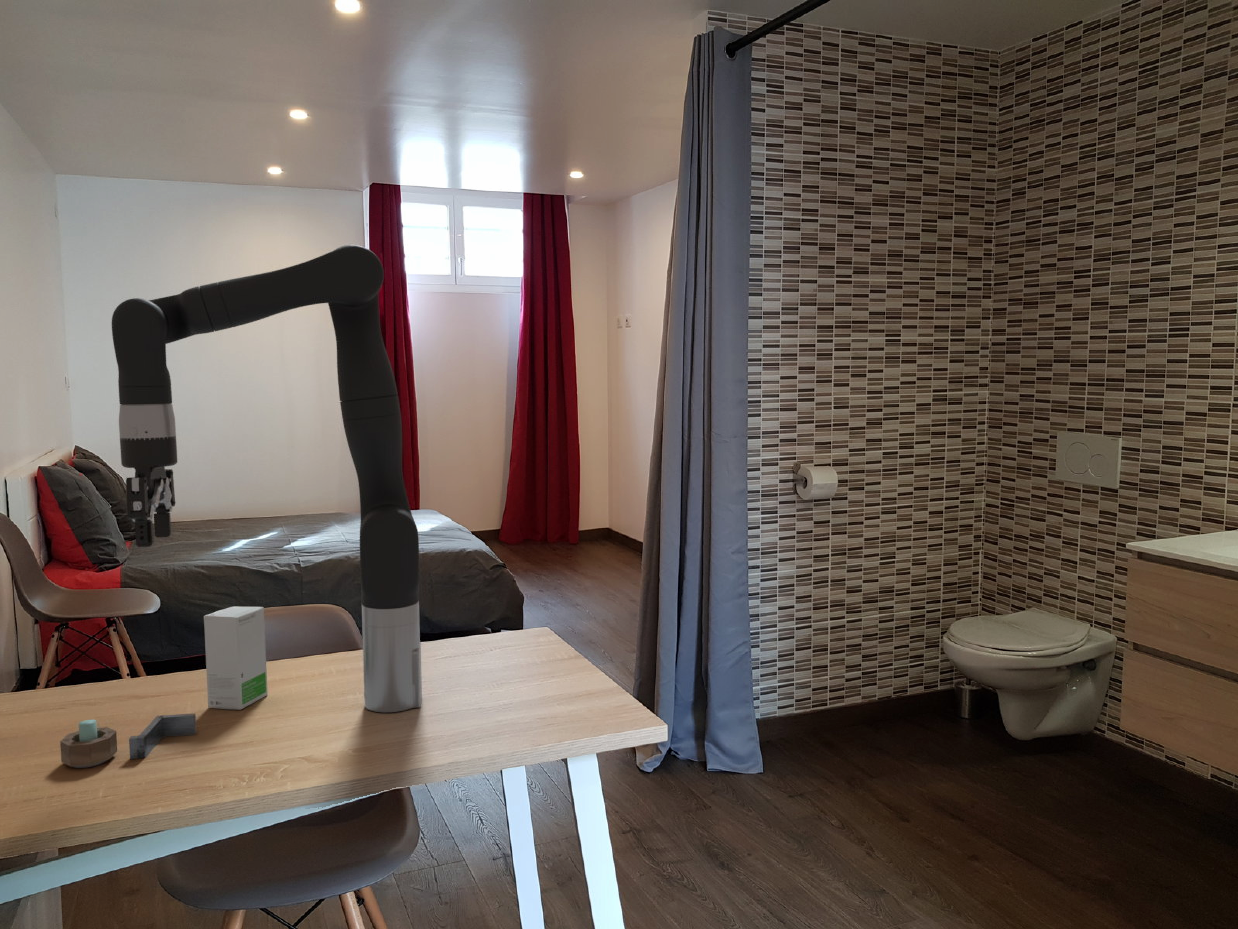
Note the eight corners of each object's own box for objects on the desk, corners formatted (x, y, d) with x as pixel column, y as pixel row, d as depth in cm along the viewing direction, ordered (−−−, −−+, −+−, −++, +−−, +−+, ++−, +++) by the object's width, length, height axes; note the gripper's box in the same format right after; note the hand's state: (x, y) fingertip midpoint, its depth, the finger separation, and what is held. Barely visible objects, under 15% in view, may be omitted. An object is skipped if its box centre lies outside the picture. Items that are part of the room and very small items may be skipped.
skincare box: (240, 711, 149) (236, 618, 148) (204, 708, 151) (200, 616, 149) (269, 694, 157) (266, 605, 156) (235, 691, 159) (231, 604, 157)
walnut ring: (122, 746, 134) (120, 726, 133) (105, 764, 127) (104, 743, 127) (74, 749, 132) (73, 729, 132) (55, 767, 126) (54, 746, 126)
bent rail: (196, 732, 140) (195, 713, 140) (178, 755, 131) (177, 735, 131) (150, 735, 139) (150, 716, 139) (130, 759, 130) (128, 738, 130)
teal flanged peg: (115, 752, 133) (113, 715, 132) (101, 766, 128) (99, 727, 127) (77, 754, 132) (75, 717, 131) (63, 769, 127) (60, 730, 126)
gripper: (159, 436, 130) (166, 548, 132) (188, 431, 144) (194, 532, 146) (103, 438, 129) (110, 551, 130) (137, 432, 143) (143, 534, 144)
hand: (154, 541), depth 138 cm, fingers open, 8 cm apart
